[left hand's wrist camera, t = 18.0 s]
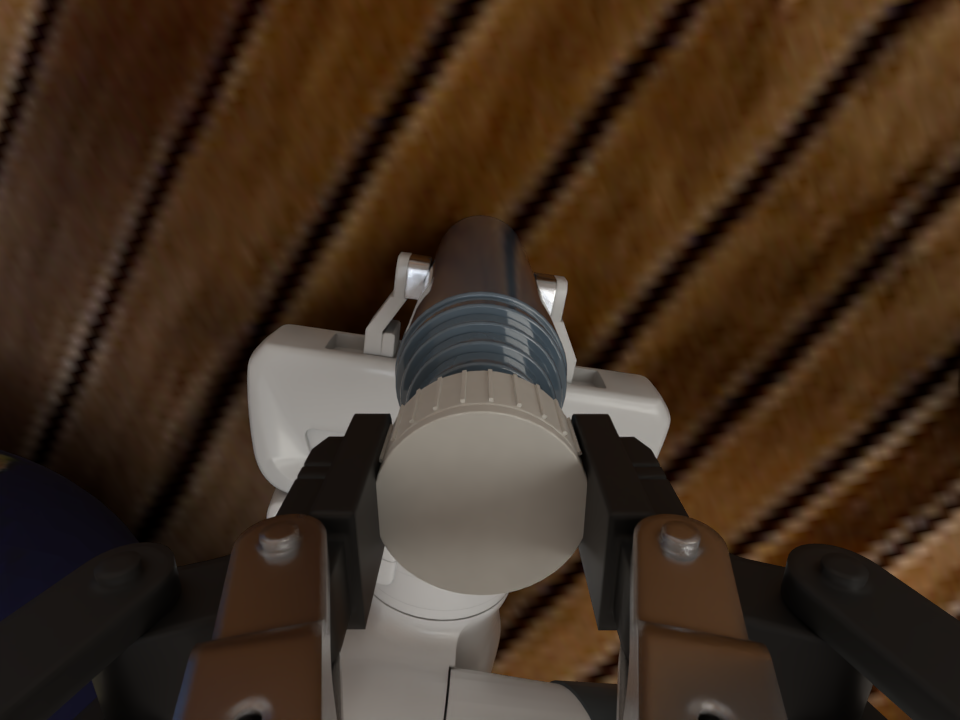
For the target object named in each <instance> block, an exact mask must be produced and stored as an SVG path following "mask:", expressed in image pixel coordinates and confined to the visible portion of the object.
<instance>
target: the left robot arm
mask: <svg viewBox="0 0 960 720" xmlns="http://www.w3.org/2000/svg"><path fill="white" fill-rule="evenodd" d="M571 422H572V425H573V428H574V431H575V434H576V437H577V440H578V443H579V446H580V449H581V452H582V454H581V455H580V457H581V460H582V463H583V467H584V470H585V473H586V476H587V494H586V507H585V519H584V532H583V538H582V540H581V542H580V544H579V546H578V547H579V552H580V556H581V560H582V564H583V568H584V572H585V576H586V581H587V585H588V589H589V593H590V597H591V601H592V605H593V610H594V614H595V618H596V622H597V626H598V630H617V631H618V635H619V638H620V642H621V645H620V653H619V662H618V686H617V719H616V720H887V719H886V718H885V717H884V716H883V715H882V714H881V713H880V712H879V711H878V710H877V709H875V708H874V707H873V706H872V705H871V704H870V703H869V702H868V701H867V700H868V697H869V694H870V691H871V688H872V685H874V686H876V687H877V688H878V689H879V690H880V691H881V692H882V693H883V694H885V695H886V696H887V697H888V698H889V699H890V700H891V701H892V702H894V703H895V704H896V705H897V706H898V707H899V708H900V709H901V710H903V711H904V712H905V713H906V714H907V715H908V716H909V717H910V718H912V719H913V720H960V621H958V620H957V619H956V618H954V617H953V616H951V615H950V614H948V613H947V612H945V611H944V610H942V609H941V608H940V607H938V606H937V605H935V604H934V603H932V602H931V601H929V600H928V599H927V598H925V597H924V596H922V595H921V594H919V593H918V592H916V591H915V590H913V589H912V588H911V587H909V586H908V585H906V584H905V583H903V582H902V581H900V580H899V579H897V578H896V577H895V576H893V575H892V574H890V573H889V572H887V571H886V570H884V569H883V568H882V567H880V566H879V565H877V564H876V563H874V562H872V561H871V560H869V559H867V558H865V557H863V556H861V555H859V554H857V553H855V552H852V551H850V550H847V549H844V548H840V547H836V546H832V545H826V544H806V545H801V546H799V547H796V548H795V549H793V550H792V551H791V552H790V554H789V556H788V559H787V563H786V567H781V566H777V565H772V564H767V563H763V562H758V561H754V560H749V559H745V558H741V557H738V556H735V555H733V554H730V553H729V552H728V548H727V545H726V543H725V541H724V540H723V538H722V537H721V536H720V535H719V534H718V533H717V532H716V531H715V530H713V529H712V528H711V527H709V526H707V525H706V524H704V523H702V522H700V521H698V520H695V519H693V518H689V516H688V515H687V513H686V511H685V509H684V507H683V506H682V504H681V502H680V500H679V498H678V497H677V495H676V493H675V491H674V489H673V488H672V486H671V484H670V482H669V480H667V479H666V475H665V473H664V471H663V470H662V468H661V467H660V466H659V462H658V460H657V459H656V457H655V455H654V453H653V451H652V450H651V449H650V448H649V447H647V446H646V445H645V444H643V443H642V442H641V441H639V440H638V439H637V438H635V437H619V435H618V433H617V431H616V429H615V426H614V424H613V422H612V420H611V418H610V416H609V415H608V414H573V415H572V418H571ZM390 424H392V418H391V415H390V414H354V416H353V418H352V420H351V422H350V424H349V427H348V429H347V431H346V433H345V435H344V436H329V437H327V438H326V439H325V440H323V441H322V442H321V443H319V444H318V445H317V446H315V447H314V448H313V449H312V450H311V452H310V453H309V455H308V457H307V459H306V461H305V463H304V467H302V468H301V470H300V472H299V474H298V475H297V479H295V481H294V483H293V485H292V486H291V488H290V490H289V492H288V494H287V496H286V497H285V499H284V501H283V503H282V505H281V507H280V508H279V510H278V512H277V514H276V516H274V517H271V518H267V519H265V520H262V521H260V522H258V523H256V524H254V525H253V526H251V527H249V528H248V529H247V530H245V531H244V532H243V533H242V534H241V535H240V536H239V537H238V538H237V540H236V541H235V543H234V545H233V548H232V552H231V554H230V555H227V556H224V557H220V558H217V559H212V560H208V561H203V562H198V563H194V564H189V565H185V566H180V567H177V566H176V561H175V557H174V554H173V552H172V551H171V549H170V548H168V547H167V546H165V545H162V544H159V543H152V542H141V543H133V544H128V545H124V546H120V547H117V548H114V549H111V550H109V551H106V552H104V553H102V554H100V555H98V556H96V557H94V558H92V559H91V560H89V561H87V562H86V563H84V564H83V565H81V566H80V567H79V568H77V569H76V570H74V571H73V572H71V573H70V574H68V575H67V576H65V577H64V578H63V579H61V580H60V581H58V582H57V583H55V584H54V585H52V586H51V587H49V588H48V589H47V590H45V591H44V592H42V593H41V594H39V595H38V596H36V597H35V598H34V599H32V600H31V601H29V602H28V603H26V604H25V605H23V606H22V607H20V608H19V609H18V610H16V611H15V612H13V613H12V614H10V615H9V616H7V617H6V618H4V619H3V620H2V621H0V720H47V719H48V718H50V717H51V716H52V715H53V714H54V713H55V712H56V711H57V710H59V709H60V708H61V707H62V706H63V705H64V704H65V703H66V702H68V701H69V700H70V699H71V698H72V697H73V696H74V695H75V694H77V693H78V692H79V691H80V690H81V689H82V688H83V687H84V686H86V685H87V684H88V683H89V682H90V681H91V680H92V683H93V686H94V689H95V692H96V695H97V697H96V698H95V699H94V700H93V701H92V702H91V703H90V704H89V705H88V706H87V707H86V708H85V709H84V710H82V711H81V712H80V713H79V714H78V715H77V716H76V717H75V718H74V719H73V720H344V719H343V686H342V662H341V653H340V651H341V648H342V645H343V642H344V638H345V634H346V631H347V629H366V624H367V620H368V616H369V612H370V607H371V603H372V599H373V595H374V590H375V586H376V582H377V577H378V573H379V569H380V565H381V560H382V556H383V552H384V547H385V545H384V543H383V542H382V540H381V538H380V530H379V517H378V504H377V491H376V478H377V475H378V472H379V468H380V465H381V463H380V462H379V458H380V455H381V451H382V448H383V445H384V442H385V439H386V436H387V432H388V429H389V426H390Z"/></svg>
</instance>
